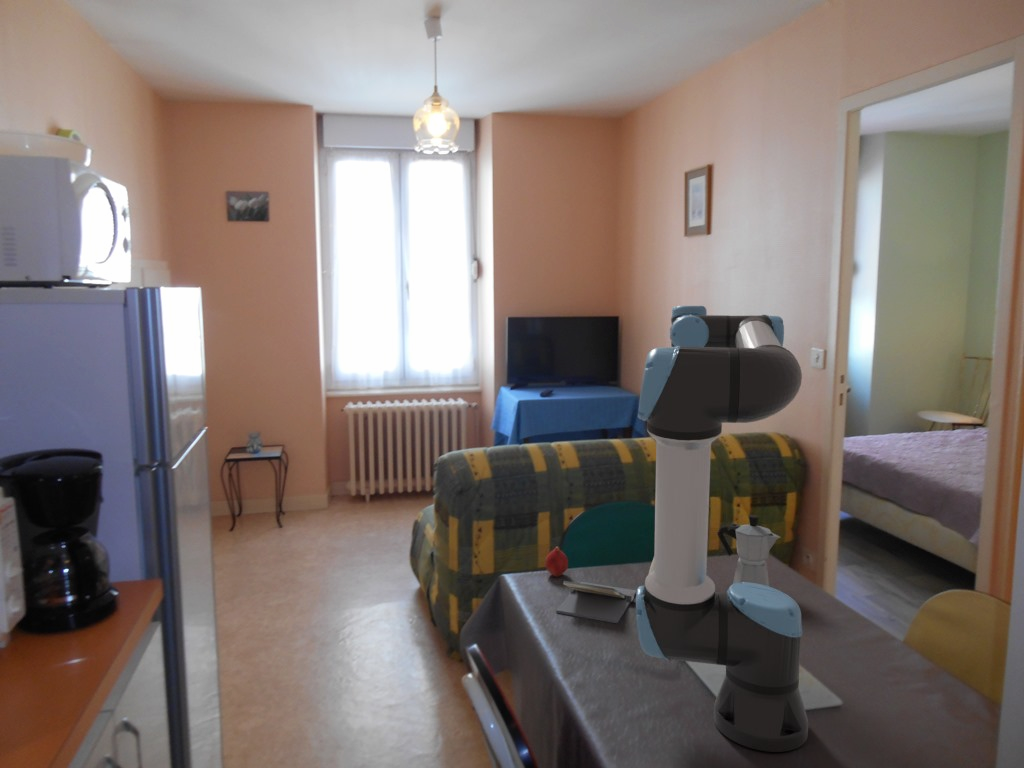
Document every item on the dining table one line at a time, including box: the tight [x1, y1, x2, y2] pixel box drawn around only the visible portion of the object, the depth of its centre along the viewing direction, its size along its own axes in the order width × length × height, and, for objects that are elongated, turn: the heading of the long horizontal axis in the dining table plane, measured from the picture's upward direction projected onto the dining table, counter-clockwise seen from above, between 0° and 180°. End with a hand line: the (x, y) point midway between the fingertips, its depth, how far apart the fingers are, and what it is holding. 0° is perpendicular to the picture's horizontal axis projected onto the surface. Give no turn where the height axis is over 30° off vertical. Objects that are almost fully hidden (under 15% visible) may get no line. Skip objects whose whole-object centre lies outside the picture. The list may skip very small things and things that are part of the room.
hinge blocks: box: [568, 587, 635, 603], centre depth 169 cm, size 2×15×1 cm, turn 67°
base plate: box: [555, 581, 637, 624], centre depth 166 cm, size 18×14×1 cm
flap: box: [562, 580, 626, 599], centre depth 164 cm, size 13×12×1 cm
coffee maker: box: [716, 514, 781, 587], centre depth 175 cm, size 15×9×18 cm, turn 58°
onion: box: [544, 546, 569, 578], centre depth 181 cm, size 6×6×8 cm
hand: (684, 478), depth 162 cm, fingers closed
